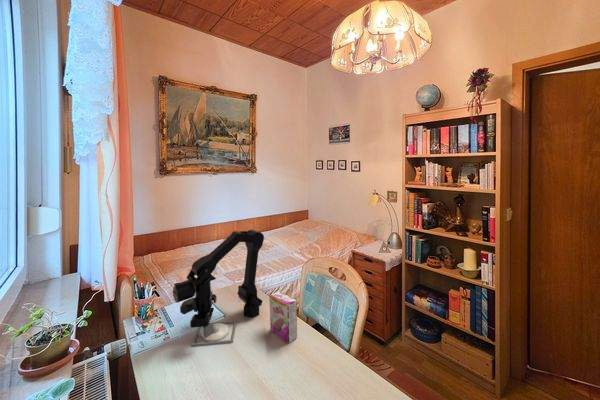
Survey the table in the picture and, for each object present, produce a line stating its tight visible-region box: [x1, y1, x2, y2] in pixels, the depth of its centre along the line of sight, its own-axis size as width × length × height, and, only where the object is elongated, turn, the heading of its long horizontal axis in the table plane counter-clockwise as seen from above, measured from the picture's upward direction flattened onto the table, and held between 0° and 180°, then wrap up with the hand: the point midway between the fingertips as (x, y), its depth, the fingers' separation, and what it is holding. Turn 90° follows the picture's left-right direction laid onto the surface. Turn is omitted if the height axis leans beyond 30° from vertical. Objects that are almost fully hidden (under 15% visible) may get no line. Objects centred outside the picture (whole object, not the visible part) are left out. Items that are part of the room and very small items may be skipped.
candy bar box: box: [269, 290, 298, 344], centre depth 106 cm, size 11×5×16 cm, turn 47°
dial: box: [201, 322, 229, 342], centre depth 106 cm, size 10×10×5 cm
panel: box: [191, 320, 237, 348], centre depth 107 cm, size 15×13×2 cm
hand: (205, 329), depth 106 cm, fingers closed
